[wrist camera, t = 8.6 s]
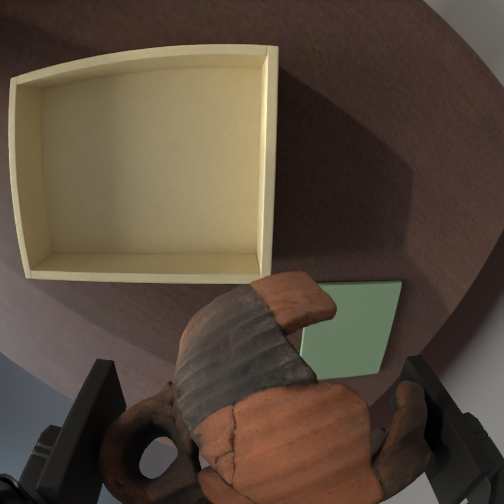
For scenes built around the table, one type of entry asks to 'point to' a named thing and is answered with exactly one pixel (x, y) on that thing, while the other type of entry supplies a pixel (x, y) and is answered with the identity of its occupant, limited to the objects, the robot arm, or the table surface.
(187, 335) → the pottery mug
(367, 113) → the table surface
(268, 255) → the cream yellow tray
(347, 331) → the mat
